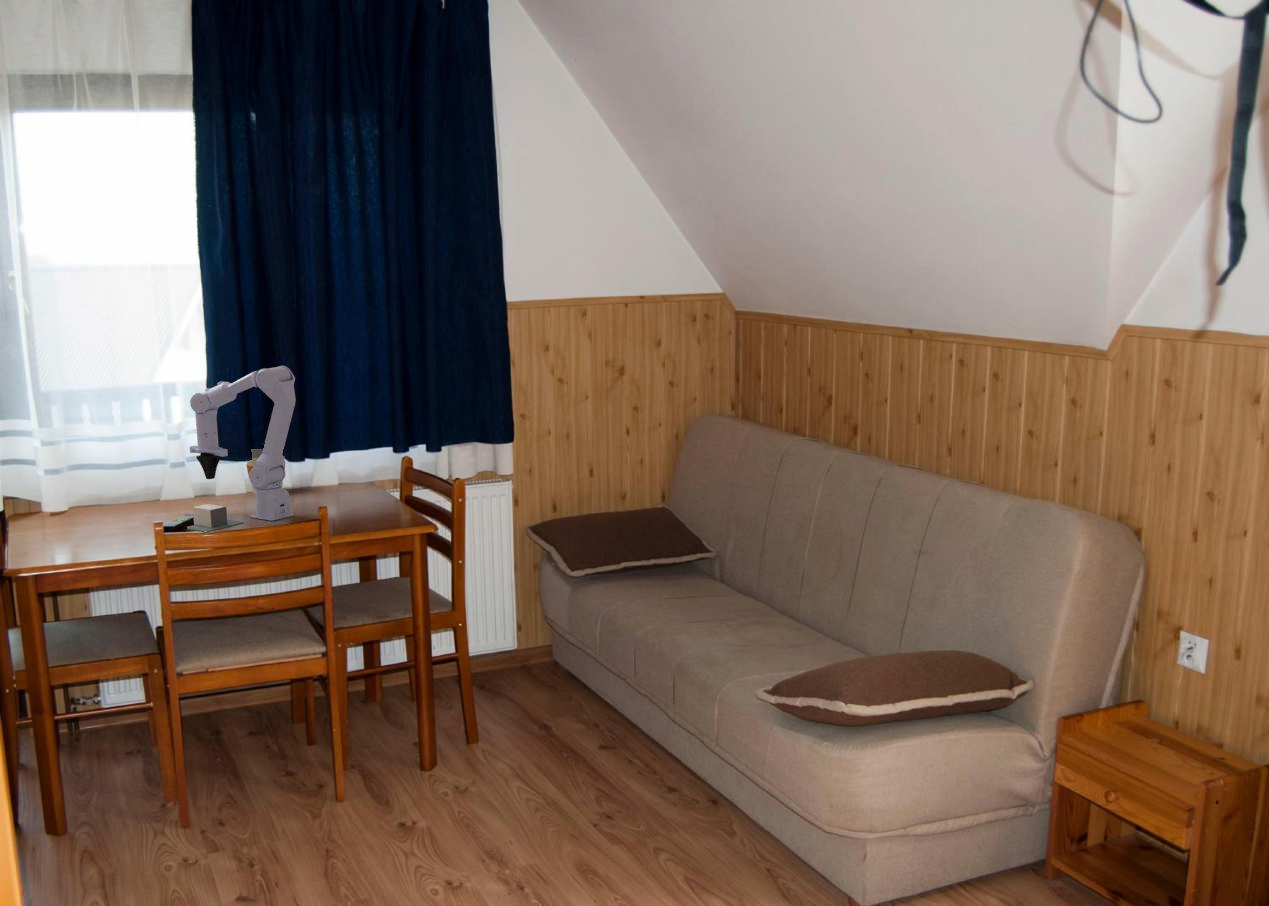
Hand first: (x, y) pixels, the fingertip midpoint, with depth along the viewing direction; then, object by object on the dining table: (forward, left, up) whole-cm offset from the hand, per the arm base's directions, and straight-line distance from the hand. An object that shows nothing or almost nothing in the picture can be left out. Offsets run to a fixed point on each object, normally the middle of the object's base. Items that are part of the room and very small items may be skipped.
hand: (210, 478), depth 342 cm
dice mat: (-14, +11, -10) cm, 21 cm away
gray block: (-9, +11, -8) cm, 16 cm away
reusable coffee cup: (+11, -30, -11) cm, 34 cm away
